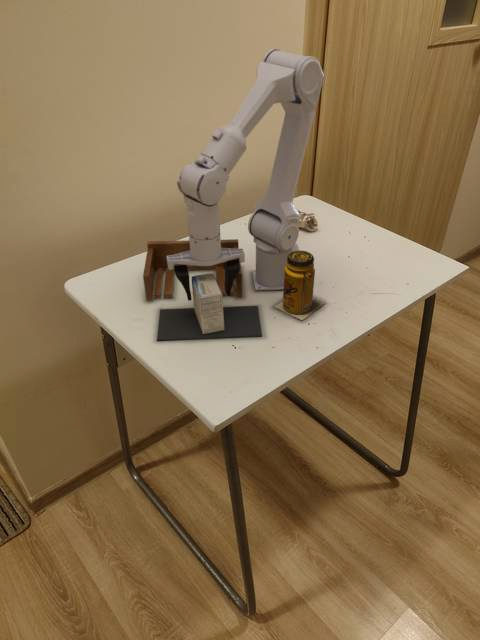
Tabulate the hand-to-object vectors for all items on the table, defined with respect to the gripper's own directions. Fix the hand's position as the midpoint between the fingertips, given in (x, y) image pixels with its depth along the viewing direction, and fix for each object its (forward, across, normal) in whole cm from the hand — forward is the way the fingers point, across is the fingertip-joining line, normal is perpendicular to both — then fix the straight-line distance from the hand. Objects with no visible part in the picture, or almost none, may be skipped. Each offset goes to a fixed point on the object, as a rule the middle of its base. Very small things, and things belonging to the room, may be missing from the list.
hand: (208, 295), depth 100 cm
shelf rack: (+4, +1, -11) cm, 12 cm away
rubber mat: (+4, +1, +4) cm, 6 cm away
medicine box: (+4, +1, +4) cm, 5 cm away
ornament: (+4, -31, -34) cm, 46 cm away
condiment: (+4, -19, +2) cm, 19 cm away
